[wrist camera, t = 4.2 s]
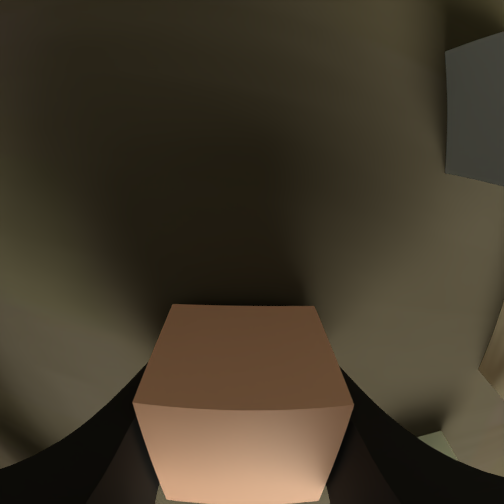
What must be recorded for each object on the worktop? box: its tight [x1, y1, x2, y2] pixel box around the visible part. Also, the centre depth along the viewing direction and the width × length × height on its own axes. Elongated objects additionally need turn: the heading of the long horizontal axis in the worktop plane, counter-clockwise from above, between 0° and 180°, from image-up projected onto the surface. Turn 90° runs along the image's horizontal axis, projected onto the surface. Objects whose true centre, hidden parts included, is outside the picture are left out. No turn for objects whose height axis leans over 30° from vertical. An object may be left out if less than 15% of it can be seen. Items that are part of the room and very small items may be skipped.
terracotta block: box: [132, 304, 354, 504], centre depth 9 cm, size 4×4×4 cm
